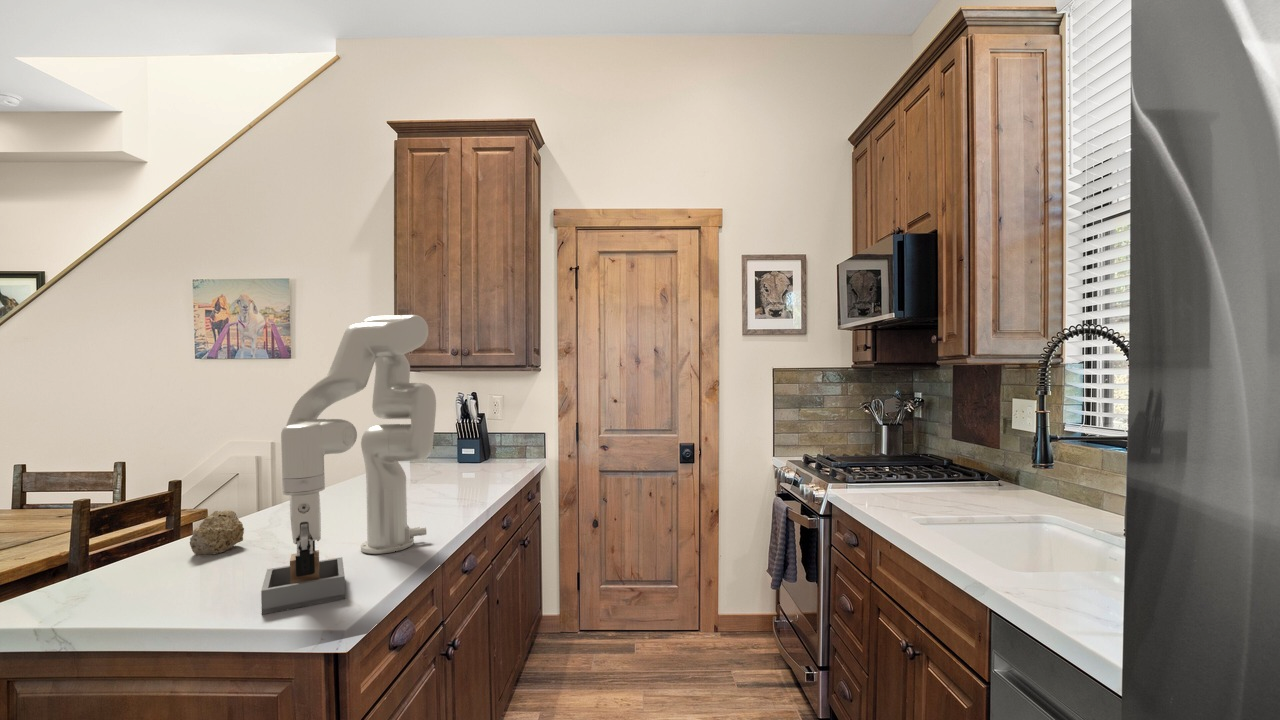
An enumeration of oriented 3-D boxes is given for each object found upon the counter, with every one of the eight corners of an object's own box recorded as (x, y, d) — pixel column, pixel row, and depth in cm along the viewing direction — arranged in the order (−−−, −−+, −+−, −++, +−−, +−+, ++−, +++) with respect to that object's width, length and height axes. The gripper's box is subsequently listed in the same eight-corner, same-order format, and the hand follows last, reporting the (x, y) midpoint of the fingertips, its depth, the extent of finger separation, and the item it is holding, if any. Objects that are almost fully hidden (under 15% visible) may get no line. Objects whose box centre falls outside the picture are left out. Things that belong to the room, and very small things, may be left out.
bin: (342, 577, 128) (342, 557, 128) (345, 598, 116) (344, 576, 116) (267, 590, 121) (267, 569, 121) (261, 614, 109) (261, 590, 109)
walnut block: (319, 583, 122) (318, 550, 122) (319, 591, 118) (318, 556, 118) (291, 588, 120) (291, 554, 120) (290, 596, 115) (289, 560, 115)
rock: (256, 523, 154) (228, 502, 156) (211, 540, 142) (182, 518, 144) (241, 555, 156) (214, 535, 158) (196, 576, 144) (167, 553, 146)
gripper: (325, 489, 113) (327, 577, 113) (324, 475, 128) (326, 552, 128) (279, 494, 110) (282, 585, 110) (284, 479, 125) (286, 558, 125)
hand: (306, 567), depth 119 cm, fingers open, 9 cm apart
